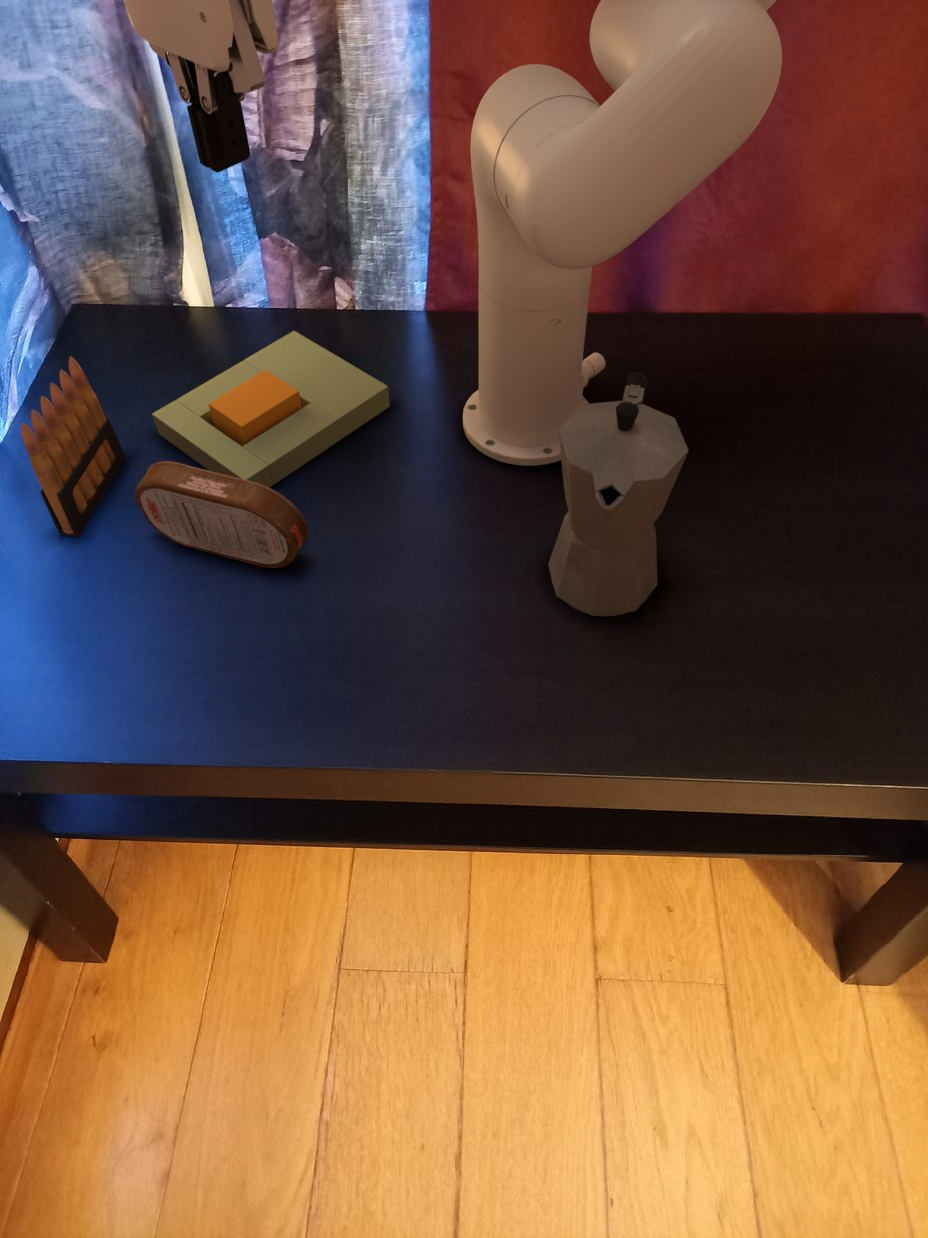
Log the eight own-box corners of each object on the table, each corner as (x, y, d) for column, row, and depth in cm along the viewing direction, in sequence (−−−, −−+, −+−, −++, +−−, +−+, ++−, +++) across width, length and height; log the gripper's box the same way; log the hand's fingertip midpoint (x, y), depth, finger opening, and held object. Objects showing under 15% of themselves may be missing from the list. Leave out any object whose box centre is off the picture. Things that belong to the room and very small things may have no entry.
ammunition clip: (78, 538, 83) (27, 432, 74) (59, 535, 83) (6, 430, 74) (126, 457, 90) (85, 351, 80) (108, 455, 90) (65, 349, 81)
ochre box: (249, 459, 89) (241, 426, 86) (217, 436, 91) (207, 403, 88) (305, 423, 93) (299, 390, 89) (272, 402, 95) (265, 369, 92)
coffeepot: (646, 648, 75) (684, 481, 61) (530, 625, 76) (541, 457, 62) (670, 514, 84) (709, 342, 70) (567, 496, 86) (583, 325, 72)
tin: (316, 557, 81) (302, 486, 75) (300, 584, 80) (284, 513, 73) (164, 518, 85) (137, 446, 78) (145, 543, 83) (116, 471, 76)
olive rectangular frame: (297, 350, 100) (294, 330, 98) (390, 406, 94) (388, 386, 92) (158, 433, 92) (151, 413, 90) (250, 500, 86) (244, 480, 84)
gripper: (296, -168, 50) (338, 176, 64) (132, -209, 56) (203, 112, 70) (181, -137, 46) (252, 219, 61) (20, -184, 53) (119, 148, 67)
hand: (226, 161), depth 66 cm, fingers closed
